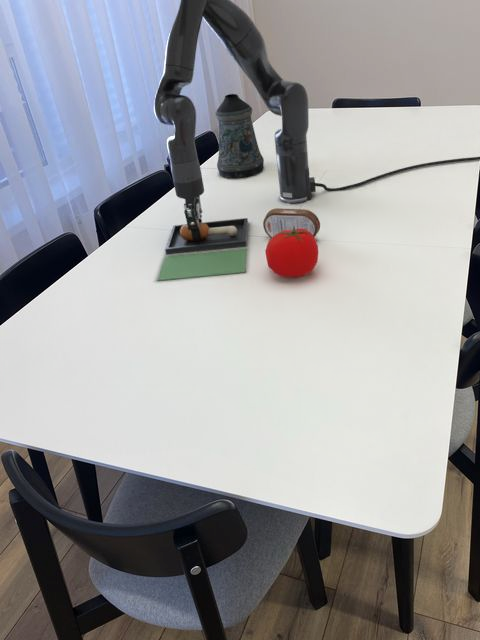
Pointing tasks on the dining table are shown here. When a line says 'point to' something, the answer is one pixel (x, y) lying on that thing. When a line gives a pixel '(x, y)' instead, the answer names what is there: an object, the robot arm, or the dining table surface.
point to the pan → (209, 238)
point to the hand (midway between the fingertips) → (198, 236)
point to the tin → (290, 221)
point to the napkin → (203, 264)
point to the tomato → (292, 253)
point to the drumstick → (207, 231)
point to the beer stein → (237, 140)
